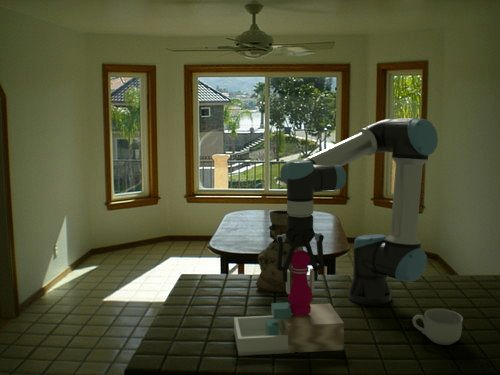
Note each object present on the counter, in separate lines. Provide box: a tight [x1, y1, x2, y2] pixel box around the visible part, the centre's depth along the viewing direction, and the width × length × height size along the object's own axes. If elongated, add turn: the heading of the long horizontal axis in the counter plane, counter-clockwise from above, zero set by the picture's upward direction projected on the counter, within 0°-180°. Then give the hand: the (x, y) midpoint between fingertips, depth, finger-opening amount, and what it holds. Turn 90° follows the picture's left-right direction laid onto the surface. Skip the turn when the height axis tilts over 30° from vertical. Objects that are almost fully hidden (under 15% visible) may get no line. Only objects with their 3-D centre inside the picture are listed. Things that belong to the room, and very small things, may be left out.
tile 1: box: [266, 319, 279, 336], centre depth 162 cm, size 5×5×3 cm
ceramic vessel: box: [255, 209, 297, 294], centre depth 208 cm, size 19×21×30 cm
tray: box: [233, 315, 289, 357], centre depth 161 cm, size 14×16×5 cm
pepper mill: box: [287, 246, 313, 315], centre depth 160 cm, size 7×7×20 cm
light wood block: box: [280, 302, 345, 354], centre depth 163 cm, size 16×16×8 cm
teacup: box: [412, 308, 464, 346], centre depth 161 cm, size 14×11×8 cm
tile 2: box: [270, 301, 291, 319], centre depth 161 cm, size 5×5×3 cm
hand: (300, 291), depth 161 cm, fingers closed on pepper mill, 6 cm apart
